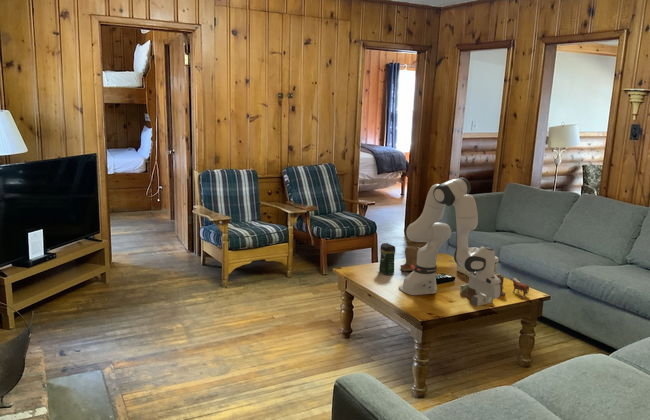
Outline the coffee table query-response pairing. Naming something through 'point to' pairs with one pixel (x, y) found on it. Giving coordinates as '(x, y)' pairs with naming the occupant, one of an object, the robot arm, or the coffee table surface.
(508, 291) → the coffee table surface
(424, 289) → the robot arm
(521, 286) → the bull figurine
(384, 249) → the coffee jar
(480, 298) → the rail bar
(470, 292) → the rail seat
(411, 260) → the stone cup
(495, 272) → the storage basket
